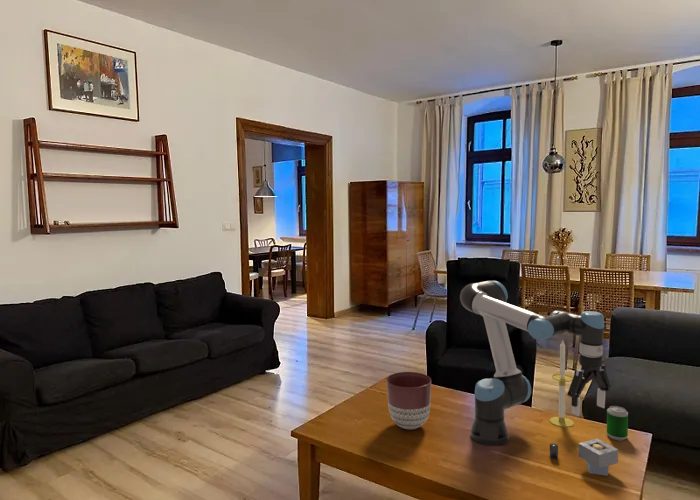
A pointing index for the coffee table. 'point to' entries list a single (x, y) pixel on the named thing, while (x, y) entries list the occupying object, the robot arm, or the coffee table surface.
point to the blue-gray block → (594, 469)
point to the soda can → (617, 423)
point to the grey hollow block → (598, 453)
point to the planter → (409, 398)
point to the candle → (562, 392)
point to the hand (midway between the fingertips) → (588, 410)
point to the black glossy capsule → (553, 450)
